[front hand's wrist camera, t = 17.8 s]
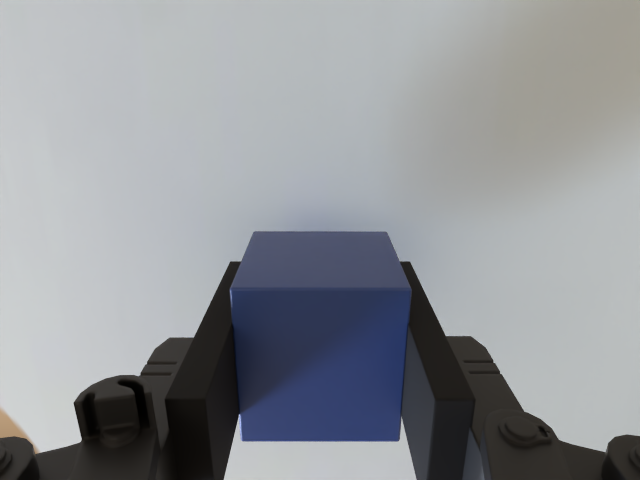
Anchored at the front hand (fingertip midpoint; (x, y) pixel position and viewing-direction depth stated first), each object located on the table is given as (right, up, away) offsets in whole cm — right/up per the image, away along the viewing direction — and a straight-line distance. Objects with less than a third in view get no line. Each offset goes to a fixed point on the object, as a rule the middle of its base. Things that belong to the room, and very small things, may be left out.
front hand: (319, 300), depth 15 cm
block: (0, 0, 0) cm, 0 cm away
